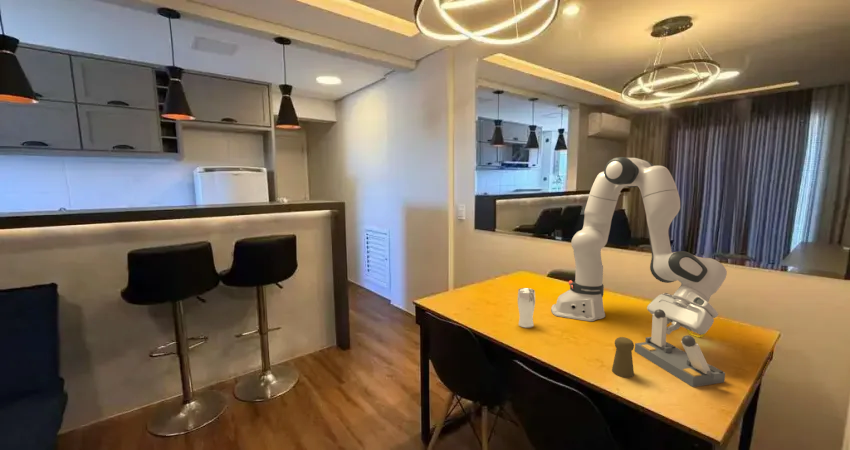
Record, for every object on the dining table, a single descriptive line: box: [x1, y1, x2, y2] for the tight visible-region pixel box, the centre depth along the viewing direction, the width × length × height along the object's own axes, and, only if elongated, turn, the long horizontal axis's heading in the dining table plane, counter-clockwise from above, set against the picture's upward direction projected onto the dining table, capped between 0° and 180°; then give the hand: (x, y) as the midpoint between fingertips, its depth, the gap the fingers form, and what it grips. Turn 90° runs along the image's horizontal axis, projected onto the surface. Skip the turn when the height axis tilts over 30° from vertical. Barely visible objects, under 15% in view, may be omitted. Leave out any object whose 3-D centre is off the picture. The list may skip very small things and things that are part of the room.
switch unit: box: [634, 336, 726, 388], centre depth 112 cm, size 11×24×5 cm, turn 10°
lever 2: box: [680, 334, 712, 376], centre depth 103 cm, size 3×6×13 cm
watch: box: [686, 329, 706, 339], centre depth 134 cm, size 6×3×6 cm, turn 23°
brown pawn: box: [611, 336, 635, 379], centre depth 110 cm, size 6×6×11 cm
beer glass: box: [517, 287, 536, 329], centre depth 147 cm, size 7×7×15 cm
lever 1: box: [650, 309, 668, 349], centre depth 119 cm, size 3×6×13 cm, turn 10°
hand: (663, 331), depth 119 cm, fingers closed, pressing on lever 1
